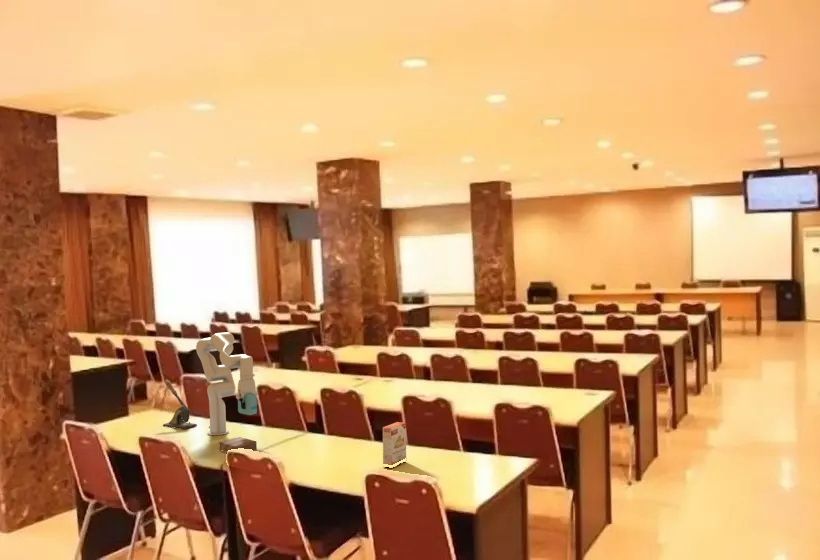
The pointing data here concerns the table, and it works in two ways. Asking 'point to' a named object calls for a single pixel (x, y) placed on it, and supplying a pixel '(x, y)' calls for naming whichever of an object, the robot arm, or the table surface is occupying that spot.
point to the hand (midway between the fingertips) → (247, 407)
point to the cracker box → (394, 443)
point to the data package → (249, 405)
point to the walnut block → (237, 444)
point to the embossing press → (179, 412)
